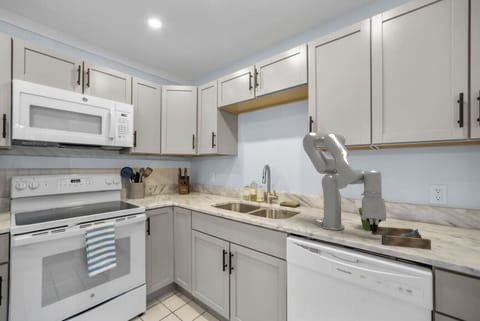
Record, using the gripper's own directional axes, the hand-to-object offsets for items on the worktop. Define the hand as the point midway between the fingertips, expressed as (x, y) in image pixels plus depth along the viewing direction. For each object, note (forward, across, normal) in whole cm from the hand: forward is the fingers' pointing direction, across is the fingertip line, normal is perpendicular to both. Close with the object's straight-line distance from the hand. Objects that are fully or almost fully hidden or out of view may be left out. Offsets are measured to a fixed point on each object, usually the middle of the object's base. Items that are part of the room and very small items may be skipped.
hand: (373, 231), depth 106 cm
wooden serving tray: (+3, +10, 0) cm, 11 cm away
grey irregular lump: (+4, +15, 0) cm, 15 cm away
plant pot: (+3, +2, +17) cm, 18 cm away
